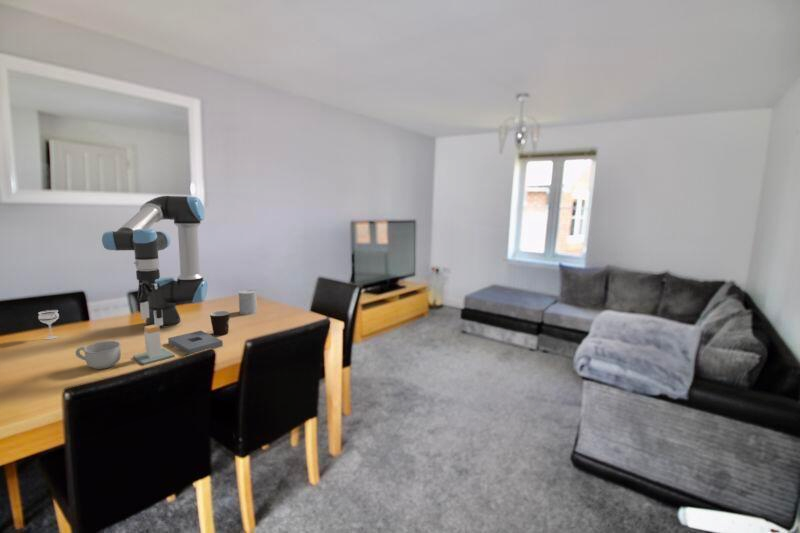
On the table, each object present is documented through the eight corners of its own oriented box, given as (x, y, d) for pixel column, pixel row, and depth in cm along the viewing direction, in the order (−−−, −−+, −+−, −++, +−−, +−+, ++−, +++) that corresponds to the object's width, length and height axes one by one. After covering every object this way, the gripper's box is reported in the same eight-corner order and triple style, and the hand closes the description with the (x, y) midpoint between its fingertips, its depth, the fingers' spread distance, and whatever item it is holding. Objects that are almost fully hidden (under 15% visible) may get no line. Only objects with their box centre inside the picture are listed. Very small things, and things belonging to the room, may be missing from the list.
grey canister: (260, 312, 219) (260, 291, 217) (246, 315, 211) (245, 294, 209) (250, 309, 224) (249, 289, 222) (235, 312, 216) (235, 291, 214)
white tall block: (146, 355, 151) (144, 326, 149) (157, 352, 154) (155, 324, 152) (150, 357, 149) (148, 328, 147) (161, 355, 152) (159, 326, 150)
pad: (133, 357, 150) (132, 355, 150) (163, 349, 159) (163, 348, 159) (143, 365, 144) (143, 363, 144) (174, 356, 153) (174, 354, 152)
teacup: (128, 360, 148) (127, 340, 147) (108, 372, 137) (106, 351, 136) (92, 359, 147) (90, 340, 146) (68, 371, 137) (66, 350, 135)
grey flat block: (168, 343, 167) (168, 338, 166) (200, 335, 178) (200, 330, 177) (189, 355, 155) (188, 349, 154) (222, 346, 166) (222, 340, 165)
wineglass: (65, 336, 171) (62, 310, 169) (47, 341, 164) (44, 314, 163) (54, 334, 173) (51, 309, 171) (36, 339, 166) (33, 313, 164)
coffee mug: (222, 337, 176) (222, 316, 175) (206, 335, 178) (205, 315, 177) (238, 329, 188) (237, 310, 186) (222, 328, 189) (222, 308, 188)
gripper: (124, 266, 150) (129, 317, 154) (149, 275, 136) (154, 331, 139) (146, 264, 156) (150, 313, 160) (172, 272, 142) (175, 326, 145)
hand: (152, 321), depth 150 cm, fingers open, 13 cm apart
